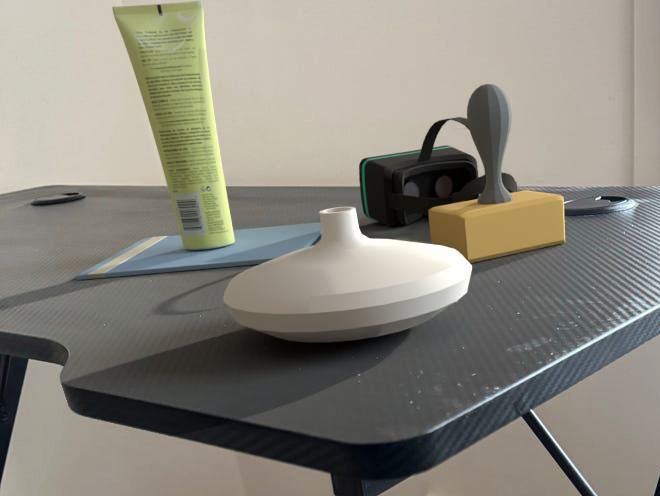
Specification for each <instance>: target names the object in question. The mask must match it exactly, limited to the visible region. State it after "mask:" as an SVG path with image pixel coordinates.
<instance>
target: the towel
mask: <svg viewBox="0 0 660 496" xmlns="http://www.w3.org/2000/svg"><path fill="white" fill-rule="evenodd" d="M233 233H234V239H235V242H234V243H233V244H230V245H227V246H223V247H218V248H212V249H203V250H187V249H185V248H184V247H183V243H182V240H181V236H180V234H177V235H176V234H175V235H160V236H152V237H144V238H142V239H140V240H138V241H136V242H134V243H133V244H131V245H129V246H128V247H126V248H123V249H122V250H120V251H118V252H116V253H115V254H113V255H112V256H111V255H110V256H109V257H107V258H106V259H104V260H102V261H100V262H98V263H97V264H95V265H93V266H91V267H89V268H87V269H86V270H84V271H83V272H81V273H79V274H76V279H77V281H83V280H95V279H105V278H108V279H109V278H119V277H128V276H141V275H151V274H163V273H175V272H187V271H197V270H207V269H208V270H210V269H219V268H221V269H222V268H231V267H242V266H252V265H253V266H254V265H255V266H256V265H260V264H262V263H265V262H267V261H270V260H273V259H275V258H278V257H280V256H283V255H285V254H288V253H291V252H293V251H297V250H300V249H303V248H306V247H310V246H313V244H314V243H315V242H316V241H317V240H318V239H319V238H320V237H321V236H322V230H321V223H320V222H319V221H318V222H317V221H316V222H307V223H298V224H296V223H295V224H285V225H276V226H275V225H274V226H265V227H264V226H263V227H254V228H252V227H251V228H242V229H233Z"/></svg>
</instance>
